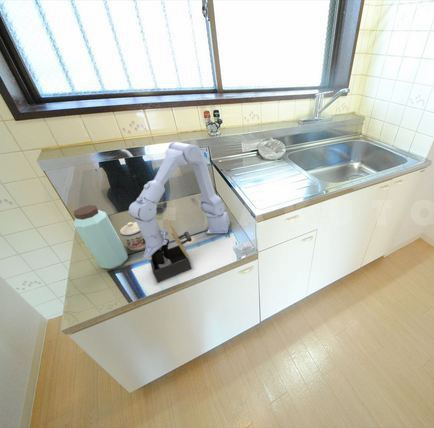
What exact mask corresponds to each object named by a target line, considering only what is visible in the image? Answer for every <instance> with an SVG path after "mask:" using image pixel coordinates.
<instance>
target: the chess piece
mask: <svg viewBox="0 0 434 428" xmlns="http://www.w3.org/2000/svg"><path fill="white" fill-rule="evenodd" d="M161 249H162V247H160V248H159V250H161ZM163 253H164V252H163ZM163 257H164V256H163ZM164 261H165V263H164V264H158V265H159V268H163V267H165V266H168V265H170V264H172V263H171V261H170V260H169V259H167V258H165V257H164Z"/></svg>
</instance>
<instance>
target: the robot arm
mask: <svg viewBox="0 0 434 428" xmlns="http://www.w3.org/2000/svg"><path fill="white" fill-rule="evenodd" d="M188 163H190V164H191V166H192V169H193V172H194V176H195V179H196V182H197V185H198V187H199V191H200V194H201V197H200V198H199V202H200V203H199V207H200V210H201V211H202V212H204V214H205V217H206V221H207V225H208V229H207V231H206V233H207V234H208V235H210V234H211V235H215V234H228V233H229V229H230V225H231V221H230V217H229V212H227V211H225V210H226V209H225V208H226V207H225V205H226V204H225V203H224V202H223V201H222V198H221V197H220V196H219V195H217V194H216V191H215V189H214V188H215V187H214V185H213V181H212V178H211V174H210V170H209V167H208V163H207V159H206V157H205V154H204V153H203V152H202V151H201V147H199V146H198V145H196V144H190V143H189V144H188V143H184V142H180V141H172V142H170V143H169V144H168V147H167V149H165V157H164V159H163V161H162V162H161V164H160V167H159V169H158V171H157V172H156V175H155V176H154V178H153V179H152V180H150V181H147V183H145V184H144V185H143V190H141V193H140V194H139V196H138V197H136V200H135V201H133V202H131V203H130V205H129V207H128V211H127V214H128V215H129V216H130V217H132V218H134V221H135V222H137V225H138V227H139V229H140V231H141V234H142V236H143V238H144V240H145V242H146V247H145V248H144V249H145V250H144V253H143V256H142V257H143V259H144V261H150V260H151V259H152V258H153V259H154V260H155V261H156V262H157V263H158V264H164V263H165V261H164V257H165V258H168V249H169V244H170V240H169V239H168V238H167V235H169V233H168V230H167V229H161V227H160V225H159V222H158V220H157V218H156V216H157V208H158V203H159V202H160V200H161V199H162V197H163V195H164V193H165V192H166V188H165V185H166V183H167V182H168V180H169V179H170V178H171V176H172V175H173V173H174V172H175V170H176V169H177V168H178V167H183V166H186V165H188ZM160 247H162V249H161V250H159V248H160ZM163 252H164V253H163ZM163 256H164V257H163Z"/></svg>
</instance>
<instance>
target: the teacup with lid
mask: <svg viewBox="0 0 434 428" xmlns="http://www.w3.org/2000/svg"><path fill="white" fill-rule="evenodd" d="M119 235H120V236H122V238H123V240H124V243H125V244H126V246H127V248H128V249H129V250H130V251H140V250H143V249H146V242H145V240H144V238H143V236H142V234H141V231H140V229H139V227H138V225H137V222H136V221H134V222H133V221H130V222H127V223H126V224H125V225H124V226H122V227H121V228H120V230H119Z"/></svg>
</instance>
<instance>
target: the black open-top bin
mask: <svg viewBox="0 0 434 428" xmlns="http://www.w3.org/2000/svg"><path fill="white" fill-rule="evenodd" d="M167 259H169V260H170V261H171V263H172V264H170V265H168V266H165V267H163V268H159V265H158V263H157V262H156V261H155V260H154V259H153V258H152V259H151V260H149V263H150V267H151V271H152V274H153V275H154V278H155V280H156V282H157V283H159V284H160V283H161V282H164V281H166V280H168V279H171V278H173V277H176V276H178V275H180V274H183V273H186V272H187V271H191V270H192V269H193V267H192V265H191V261H190V259H189V257H188V258H187V257H186V256H185V254H184V253H183V251H182V250H181V248H180V247H179V245H178V244H177V245H175V246H172V247H168V258H167Z"/></svg>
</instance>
